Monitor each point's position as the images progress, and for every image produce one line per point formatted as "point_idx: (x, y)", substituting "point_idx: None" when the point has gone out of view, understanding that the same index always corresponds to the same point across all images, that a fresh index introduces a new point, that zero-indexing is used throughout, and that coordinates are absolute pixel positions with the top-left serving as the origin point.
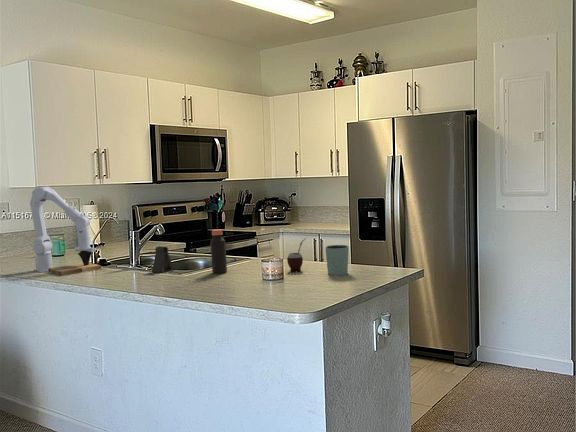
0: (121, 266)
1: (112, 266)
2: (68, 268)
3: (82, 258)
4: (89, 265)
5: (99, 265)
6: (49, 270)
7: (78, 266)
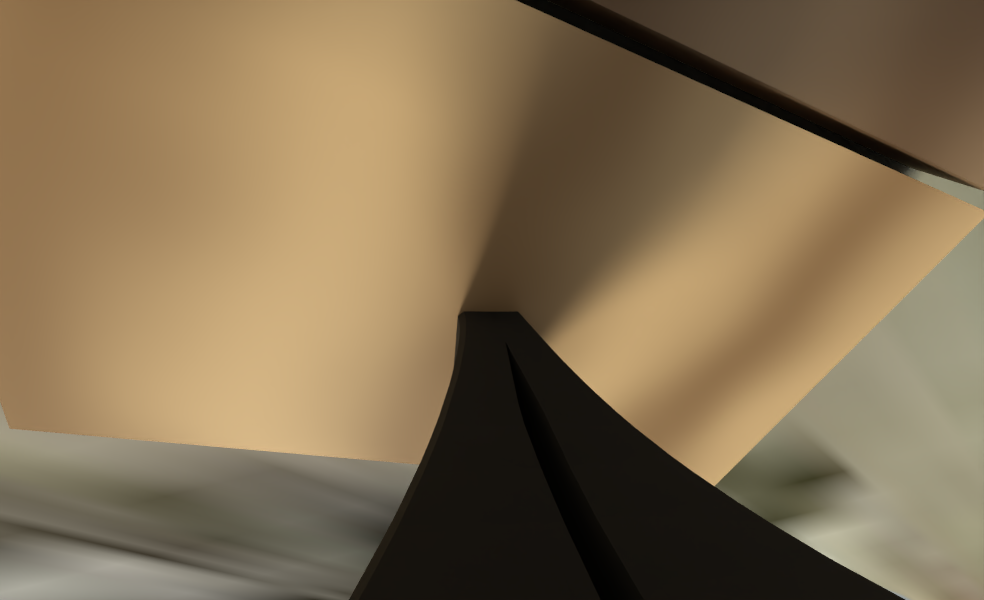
0: (58, 572)
1: (213, 535)
2: None
3: (567, 444)
4: (349, 345)
5: (64, 419)
6: None
7: (551, 145)
